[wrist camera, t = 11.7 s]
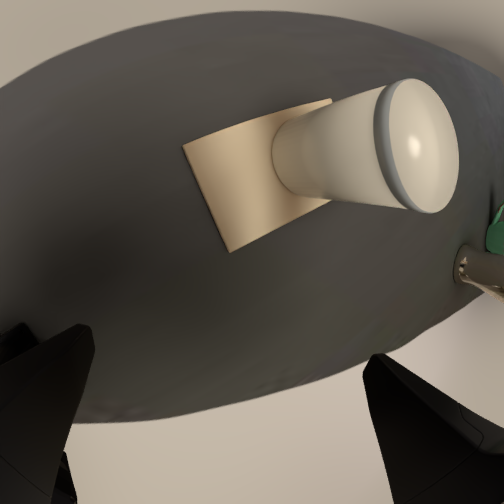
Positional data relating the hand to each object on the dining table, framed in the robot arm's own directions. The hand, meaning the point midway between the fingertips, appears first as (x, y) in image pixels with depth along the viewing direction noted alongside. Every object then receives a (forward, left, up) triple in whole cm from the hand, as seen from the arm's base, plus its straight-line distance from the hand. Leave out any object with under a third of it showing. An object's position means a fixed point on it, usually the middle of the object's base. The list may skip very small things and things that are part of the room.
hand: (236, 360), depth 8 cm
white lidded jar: (+11, +3, -10) cm, 15 cm away
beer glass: (+34, -19, -11) cm, 41 cm away
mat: (+9, +3, -11) cm, 15 cm away
